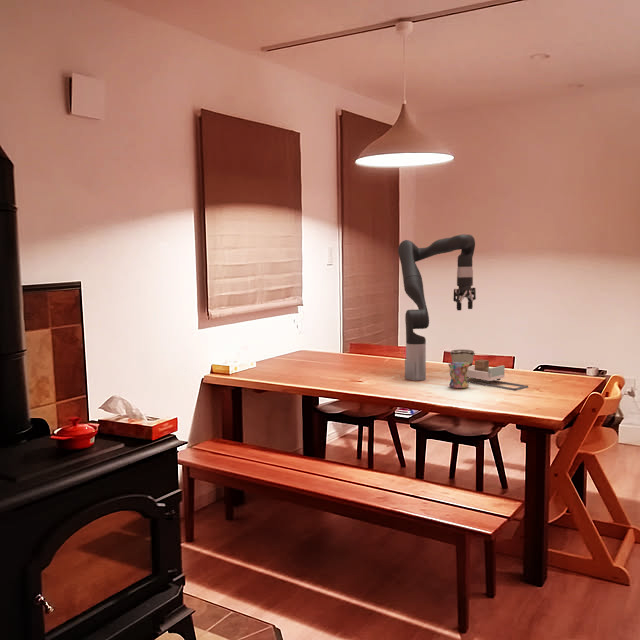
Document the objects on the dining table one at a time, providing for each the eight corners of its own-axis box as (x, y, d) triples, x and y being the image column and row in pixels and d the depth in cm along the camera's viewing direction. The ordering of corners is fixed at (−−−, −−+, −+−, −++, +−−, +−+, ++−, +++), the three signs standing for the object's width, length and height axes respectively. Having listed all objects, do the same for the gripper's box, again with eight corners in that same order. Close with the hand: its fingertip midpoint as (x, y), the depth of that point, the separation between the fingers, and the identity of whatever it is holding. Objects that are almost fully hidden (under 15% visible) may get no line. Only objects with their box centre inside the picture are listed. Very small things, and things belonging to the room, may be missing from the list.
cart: (490, 384, 286) (490, 368, 286) (459, 378, 299) (459, 364, 299) (504, 380, 294) (504, 365, 293) (473, 375, 306) (473, 361, 306)
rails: (515, 390, 277) (515, 388, 277) (455, 380, 302) (455, 378, 302) (528, 387, 284) (528, 385, 284) (468, 377, 308) (468, 375, 308)
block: (482, 374, 293) (482, 361, 292) (474, 373, 297) (474, 360, 296) (488, 373, 296) (488, 360, 295) (480, 372, 299) (480, 359, 299)
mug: (455, 384, 293) (455, 361, 292) (473, 386, 286) (473, 363, 285) (440, 388, 284) (440, 364, 283) (459, 391, 278) (459, 367, 276)
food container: (473, 368, 331) (473, 349, 330) (474, 370, 325) (474, 351, 324) (448, 368, 332) (448, 349, 331) (450, 370, 326) (450, 351, 325)
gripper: (467, 275, 316) (467, 308, 318) (449, 276, 307) (449, 310, 309) (480, 275, 311) (480, 309, 312) (461, 276, 301) (461, 311, 303)
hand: (464, 309), depth 311 cm, fingers open, 8 cm apart
